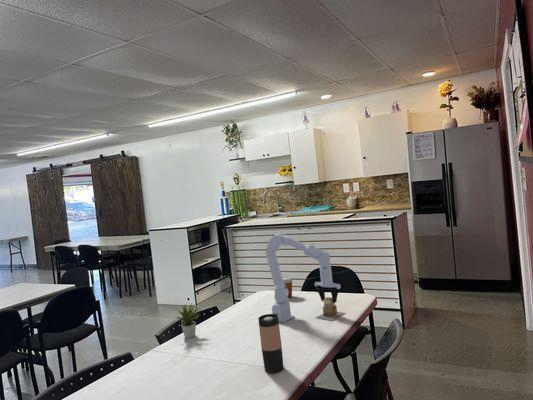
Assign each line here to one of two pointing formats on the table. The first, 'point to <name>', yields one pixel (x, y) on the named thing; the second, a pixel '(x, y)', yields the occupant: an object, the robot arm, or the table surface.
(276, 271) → the robot arm
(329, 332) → the table surface
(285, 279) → the disposable coffee cup
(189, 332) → the house plant
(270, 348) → the travel mug
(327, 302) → the beech block
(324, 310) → the walnut block
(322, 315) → the grey flat slab
